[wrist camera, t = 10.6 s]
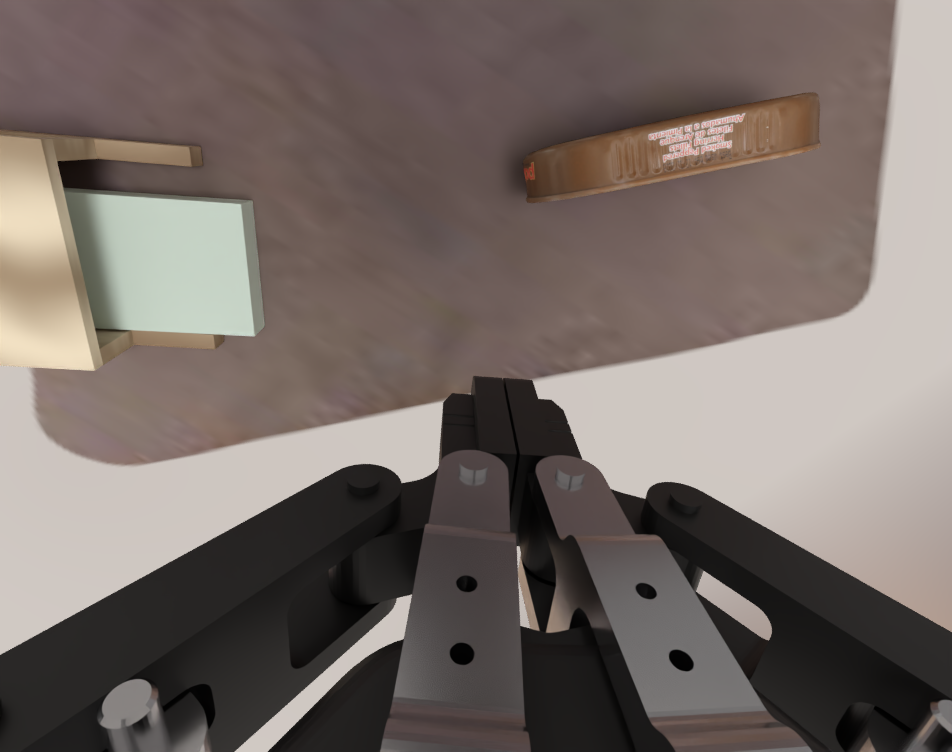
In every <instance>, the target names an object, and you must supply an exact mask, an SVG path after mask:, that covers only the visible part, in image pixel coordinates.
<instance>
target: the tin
mask: <svg viewBox="0 0 952 752" xmlns="http://www.w3.org/2000/svg"><path fill="white" fill-rule="evenodd" d="M819 116H820V104H819V96H818V94H816V93H813V92H812V93H802V94H797V95H792V96H786V97H781V98H775V99H770V100H765V101H760V102H754V103H749V104H744V105H739V106H734V107H729V108H723V109H718V110H713V111H708V112H703V113H698V114H693V115H688V116H683V117H678V118H673V119H669V120H664V121H659V122H655V123H650V124H646V125H641V126H637V127H632V128H628V129H623V130H618V131H614V132H609V133H604V134H600V135H595V136H591V137H587V138H582V139H578V140H573V141H569V142H564V143H560V144H557V145H553V146H549V147H546V148H543V149H540V150H538V151H535V152H532V153H530V154H528V155H527V156H526V158H525V159H524V160H523V167H524V174H525V180H526V187H527V195H528V196H527V198H526V201H527V202H528V203H536V202H548V201H558V200H563V199H570V198H576V197H582V196H589V195H594V194H599V193H605V192H611V191H615V190H621V189H627V188H631V187H636V186H641V185H647V184H652V183H656V182H662V181H667V180H671V179H676V178H681V177H686V176H691V175H696V174H702V173H706V172H711V171H716V170H721V169H726V168H732V167H737V166H741V165H746V164H751V163H757V162H762V161H767V160H772V159H777V158H782V157H787V156H791V155H795V154H799V153H805V152H808V151H811V150H814V149H818V148H820V146H821V143H820V141H819Z"/></svg>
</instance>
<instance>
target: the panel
mask: <svg viewBox="0 0 952 752" xmlns="http://www.w3.org/2000/svg"><path fill="white" fill-rule="evenodd" d="M63 190H64V194H65V198H66V203H67V207H68V212H69V216H70V221H71V225H72V229H73V234H74V238H75V243H76V247H77V252H78V256H79V260H80V265H81V269H82V274H83V278H84V283H85V287H86V291H87V296H88V300H89V305H90V309H91V314H92V318H93V322H94V327H95V328H99V329H119V330H138V331H158V332H178V333H198V334H218V335H238V336H256V335H257V334H258V333H259V332H260V331H261V330H262V329H263V328H264V327H265V322H264V312H263V302H262V292H261V282H260V271H259V261H258V251H257V241H256V230H255V220H254V210H253V201H252V200H238V199H223V198H208V197H194V196H179V195H165V194H150V193H135V192H121V191H106V190H92V189H77V188H63Z"/></svg>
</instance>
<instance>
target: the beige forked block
mask: <svg viewBox="0 0 952 752" xmlns="http://www.w3.org/2000/svg"><path fill="white" fill-rule="evenodd" d="M85 159H106V160H118V161H130V162H142V163H154V164H166V165H178V166H190V167H193V166H201V165H203V161H202V153H201V147H198V146H186V145H175V144H163V143H152V142H140V141H129V140H117V139H105V138H94V137H82V136H71V135H59V134H48V133H36V132H24V131H13V130H1V129H0V366H18V367H36V368H55V369H73V370H92V371H95V370H96V369H98V368H100V367H101V366H103V365H104V364H106V363H107V362H109V361H110V360H112V359H113V358H115V357H116V356H118V355H119V354H121V353H122V352H124V351H125V350H127V349H128V348H130V347H131V346H133V345H148V346H165V347H182V348H200V349H216V348H217V347H218V346H219V345H221V344H222V343H223V342H224V335H218V334H198V333H178V332H158V331H138V330H119V329H99V328H95V327H94V322H93V318H92V314H91V309H90V305H89V300H88V296H87V291H86V287H85V283H84V278H83V274H82V269H81V265H80V260H79V256H78V252H77V247H76V243H75V238H74V234H73V229H72V225H71V221H70V216H69V212H68V207H67V203H66V198H65V194H64V190H63V185H62V181H61V176H60V172H59V167H58V163H57V161H69V160H85Z"/></svg>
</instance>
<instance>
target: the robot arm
mask: <svg viewBox="0 0 952 752" xmlns="http://www.w3.org/2000/svg"><path fill="white" fill-rule="evenodd" d="M517 546H520V550H521V557H520V563H519V568H517ZM703 571H705V572H707V573H708V574H710V575H711V576H713V577H714V578H716V579H717V580H719V581H720V582H722V583H723V584H725V585H726V586H728V587H729V588H731V589H732V590H734V591H735V592H737V593H738V594H740V595H741V596H743V597H744V598H746V599H747V600H749V601H750V602H752V603H753V604H755V605H756V606H757V607H759V608H760V609H761V610H762V611H763V612H764V613H765V614H766V616H767V617H768V619H769V621H770V623H771V626H772V635H771V638H770V640H769V641H768V640H765V639H763V638H761V637H759V636H758V635H757V634H755V633H754V632H752V631H751V630H749V629H748V628H747V627H745V626H744V625H742V624H741V623H739V622H738V621H737V620H735V619H734V618H732V617H731V616H730V615H728V614H727V613H725V612H724V611H722V610H721V609H720V608H718V607H717V606H715V605H714V604H712V603H711V602H710V601H708V600H707V599H706V598H704V597H702V596H701V595H700V594H698V593H697V592H696V590H697V587H698V584H699V581H700V579H701V576H702V573H703ZM518 578H519V582H520V587H521V591H522V595H523V599H524V603H525V607H526V612H527V616H528V620H529V624H530V628H531V629H530V628H526V627H522V626H520V612H519V589H518ZM411 594H412V598H411V604H410V609H409V614H408V621H407V625H406V631H405V636H404V639H403V640H400V641H397V642H394V643H392V644H389V645H387V646H385V647H383V648H381V649H379V650H377V651H376V652H374V653H372V654H371V655H369V656H368V657H366V658H365V659H363V660H362V661H361V662H360V663H358V664H357V665H356V666H354V667H353V668H352V669H351V670H350V671H348V672H347V674H345V675H344V676H343V677H342V678H341V679H340V680H339V681H338V682H337V683H336V684H335V685H334V686H333V687H332V688H331V689H330V690H329V691H328V692H327V693H326V694H325V695H324V696H323V697H322V698H321V699H320V700H319V701H318V702H317V703H316V704H315V705H314V706H313V707H312V708H311V709H310V710H309V711H308V712H307V713H306V714H305V715H304V716H303V717H302V718H301V719H300V720H299V721H298V722H297V723H296V724H295V725H294V726H293V727H292V728H291V729H290V730H289V731H288V732H287V733H286V734H285V735H284V736H283V737H282V738H281V739H280V740H279V741H278V742H277V743H276V744H275V745H274V746H273V747H272V748H271V749H270V750H269V751H268V752H952V632H950V631H949V630H947V629H945V628H943V627H941V626H940V625H938V624H936V623H934V622H933V621H931V620H929V619H927V618H925V617H924V616H922V615H920V614H918V613H917V612H915V611H913V610H911V609H909V608H908V607H906V606H904V605H902V604H901V603H899V602H897V601H895V600H893V599H892V598H890V597H888V596H886V595H884V594H883V593H881V592H879V591H877V590H875V589H874V588H872V587H870V586H868V585H867V584H865V583H863V582H861V581H860V580H858V579H856V578H854V577H853V576H851V575H849V574H847V573H845V572H844V571H842V570H840V569H838V568H837V567H835V566H833V565H831V564H830V563H828V562H826V561H824V560H822V559H821V558H819V557H817V556H815V555H814V554H812V553H810V552H808V551H806V550H805V549H803V548H801V547H799V546H797V545H796V544H794V543H792V542H790V541H789V540H787V539H785V538H783V537H781V536H780V535H778V534H776V533H775V532H773V531H771V530H769V529H767V528H766V527H764V526H762V525H760V524H758V523H757V522H755V521H753V520H751V519H750V518H748V517H746V516H744V515H742V514H741V513H739V512H737V511H735V510H734V509H732V508H730V507H728V506H727V505H725V504H723V503H721V502H719V501H718V500H716V499H714V498H712V497H711V496H709V495H707V494H705V493H703V492H702V491H700V490H698V489H696V488H693V487H691V486H687V485H684V484H680V483H674V482H662V483H657V484H655V485H653V486H652V487H650V488H649V490H648V492H647V495H646V499H643V498H639V497H636V496H631V495H628V494H624V493H621V492H617V491H614V490H612V489H610V487H609V486H608V484H607V482H606V480H605V478H604V476H603V475H602V473H601V472H600V471H599V470H598V469H597V468H596V467H595V466H594V465H592V464H590V463H589V462H587V461H584V460H582V457H581V455H580V452H579V449H578V447H577V444H576V442H575V439H574V437H573V434H572V433H571V429H570V426H569V424H568V421H567V419H566V416H565V414H564V411H563V410H562V409H561V408H560V407H559V406H558V405H556V404H555V403H554V402H553V401H552V400H544V399H538V397H537V394H536V390H535V387H534V385H533V381H532V380H524V379H509V378H503V380H502V378H494V377H480V376H473V381H472V390H471V395H469V394H455V393H452V394H451V395H450V396H449V397H448V398H447V399H446V400H445V401H444V403H443V415H442V428H441V441H440V453H439V466H438V469H437V470H436V471H435V472H434V473H432V474H431V475H429V476H427V477H425V478H423V479H420V480H417V481H412V482H406V483H401V481H400V478H399V477H398V476H397V475H396V474H395V473H394V472H393V471H391V470H389V469H387V468H385V467H382V466H378V465H372V464H360V465H353V466H348V467H345V468H342V469H340V470H338V471H336V472H334V473H333V474H331V475H329V476H327V477H325V478H323V479H322V480H320V481H318V482H316V483H314V484H312V485H311V486H309V487H307V488H305V489H303V490H302V491H300V492H298V493H296V494H294V495H292V496H290V497H289V498H287V499H285V500H283V501H281V502H280V503H278V504H276V505H274V506H272V507H271V508H268V509H267V510H265V511H263V512H261V513H259V514H258V515H256V516H254V517H252V518H250V519H248V520H247V521H245V522H243V523H241V524H239V525H237V526H236V527H234V528H232V529H230V530H229V531H227V532H225V533H223V534H221V535H219V536H217V537H216V538H214V539H212V540H210V541H208V542H207V543H205V544H203V545H201V546H199V547H197V548H195V549H193V550H192V551H190V552H188V553H186V554H184V555H182V556H181V557H179V558H177V559H175V560H173V561H172V562H170V563H168V564H166V565H164V566H163V567H161V568H159V569H157V570H155V571H153V572H151V573H150V574H148V575H146V576H144V577H142V578H140V579H139V580H137V581H135V582H133V583H131V584H129V585H128V586H126V587H124V588H122V589H120V590H118V591H117V592H115V593H113V594H111V595H109V596H107V597H106V598H104V599H102V600H100V601H98V602H96V603H95V604H93V605H91V606H89V607H87V608H85V609H84V610H82V611H80V612H78V613H76V614H75V615H73V616H71V617H69V618H67V619H65V620H63V621H62V622H60V623H58V624H56V625H54V626H53V627H51V628H49V629H47V630H45V631H43V632H42V633H40V634H38V635H36V636H34V637H33V638H31V639H29V640H27V641H25V642H23V643H22V644H20V645H18V646H16V647H14V648H12V649H10V650H9V651H7V652H5V653H3V654H1V655H0V752H234V751H235V750H237V749H238V748H239V747H240V746H241V745H242V744H243V743H244V742H246V741H247V740H248V739H249V738H250V737H251V736H252V735H253V734H254V733H256V732H257V731H258V730H259V729H260V728H261V727H262V726H263V725H265V724H266V723H267V722H268V721H269V720H270V719H271V718H272V717H273V716H275V715H276V714H277V713H278V712H279V711H280V710H281V709H282V708H284V707H285V706H286V705H287V704H288V703H289V702H290V701H291V700H293V699H294V698H295V697H296V696H297V695H298V694H299V693H300V692H301V691H303V690H304V689H305V688H306V687H307V686H308V685H309V684H310V683H312V682H313V681H314V680H315V679H316V678H317V677H318V676H319V675H320V674H322V673H323V672H324V671H325V670H326V669H327V668H328V667H329V666H331V665H332V664H333V663H334V662H335V661H336V660H337V659H338V658H340V657H341V656H342V655H343V654H344V653H345V652H346V651H347V650H348V649H350V647H352V646H353V645H354V644H355V643H356V642H357V641H358V640H360V638H362V637H363V636H364V635H365V634H366V633H367V632H369V630H371V629H372V628H373V627H374V626H375V625H376V624H378V623H379V622H380V621H381V620H382V619H383V618H384V617H385V616H386V615H387V614H389V612H390V611H391V610H392V609H393V607H394V605H395V603H396V599H397V598H399V597H403V596H407V595H411Z"/></svg>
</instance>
